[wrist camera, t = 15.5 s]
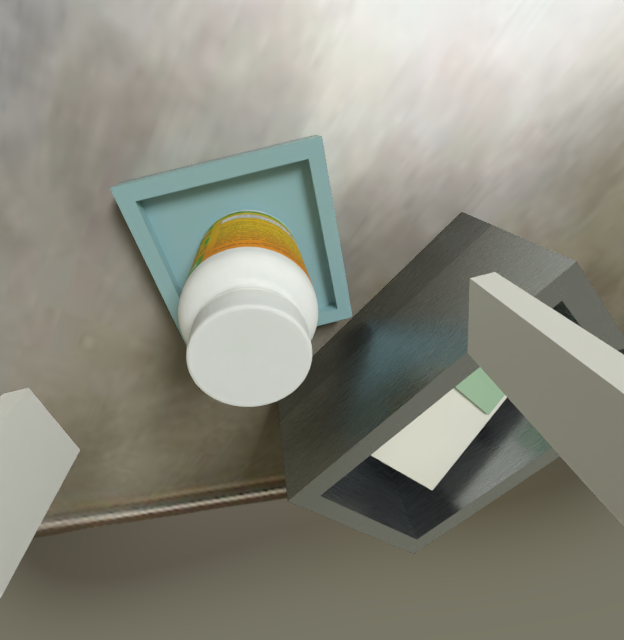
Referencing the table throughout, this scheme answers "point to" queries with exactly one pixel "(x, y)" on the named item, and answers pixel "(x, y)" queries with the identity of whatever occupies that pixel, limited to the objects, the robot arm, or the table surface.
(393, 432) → the guard box
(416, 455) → the block
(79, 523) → the table surface
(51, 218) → the table surface
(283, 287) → the supplement bottle
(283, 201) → the tray
